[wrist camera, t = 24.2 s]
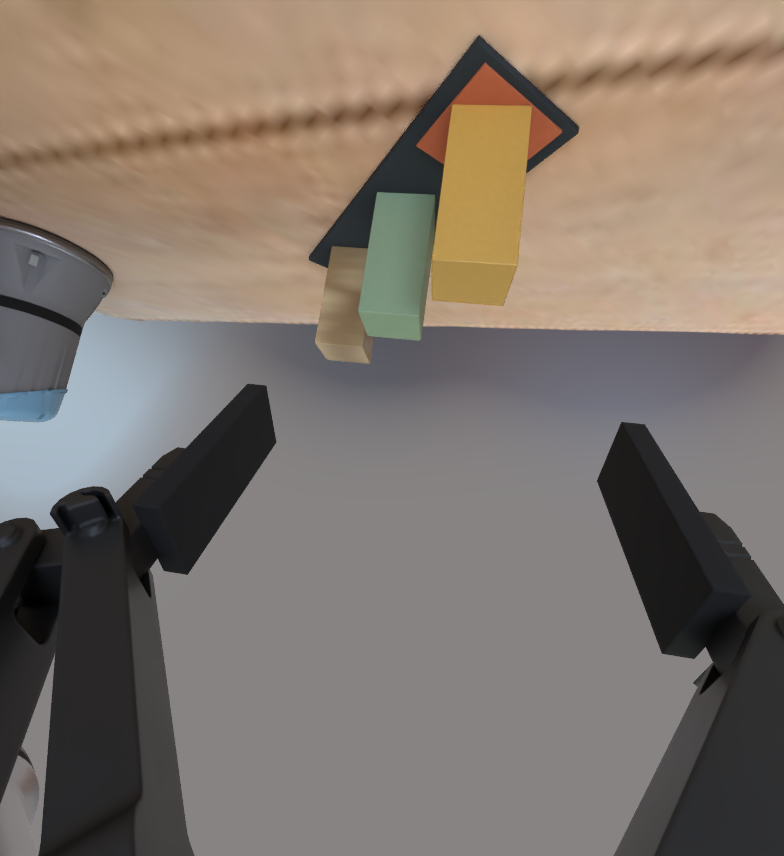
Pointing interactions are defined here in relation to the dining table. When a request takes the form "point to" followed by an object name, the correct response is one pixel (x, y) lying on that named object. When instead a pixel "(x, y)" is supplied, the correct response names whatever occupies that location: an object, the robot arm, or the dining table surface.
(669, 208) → the dining table surface
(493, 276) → the tall mustard brick
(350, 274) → the tan tall block
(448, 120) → the word mat
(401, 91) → the dining table surface
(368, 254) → the sage I block
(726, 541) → the robot arm
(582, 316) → the dining table surface
